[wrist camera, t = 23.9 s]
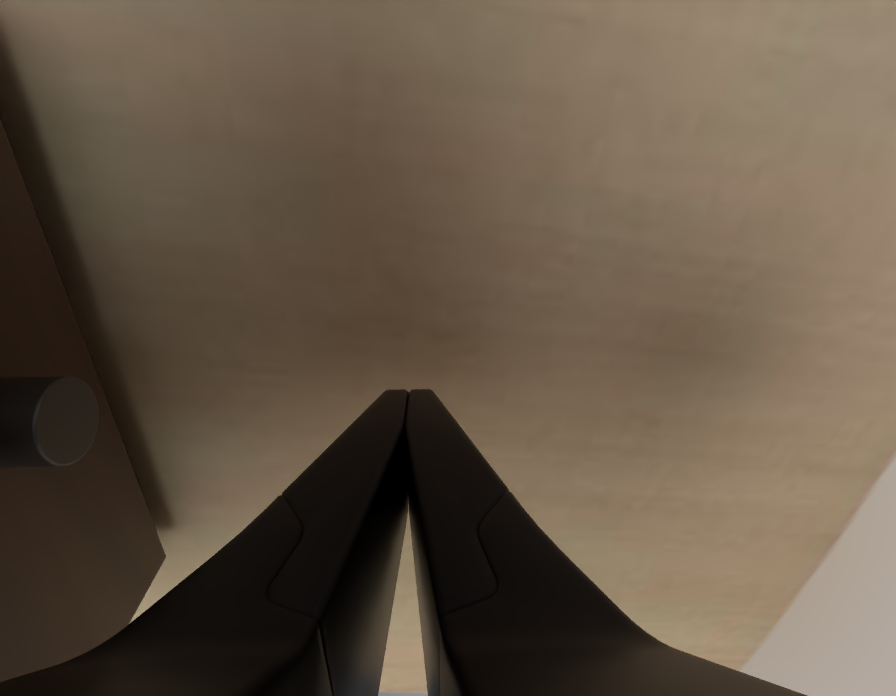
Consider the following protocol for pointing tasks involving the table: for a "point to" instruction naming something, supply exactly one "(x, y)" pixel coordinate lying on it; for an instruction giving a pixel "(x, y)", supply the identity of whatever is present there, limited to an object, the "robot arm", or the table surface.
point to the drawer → (58, 466)
